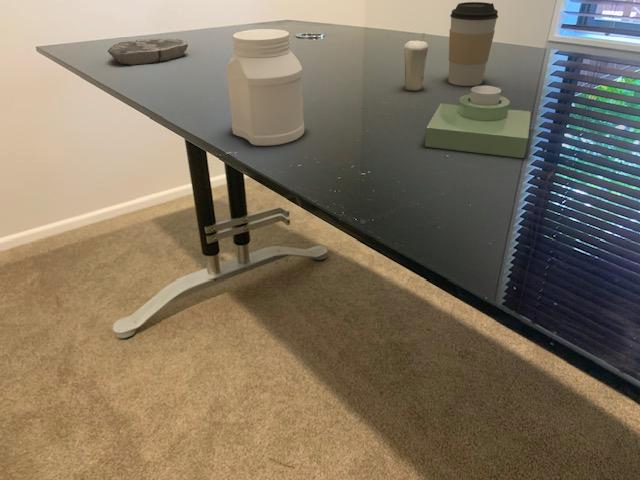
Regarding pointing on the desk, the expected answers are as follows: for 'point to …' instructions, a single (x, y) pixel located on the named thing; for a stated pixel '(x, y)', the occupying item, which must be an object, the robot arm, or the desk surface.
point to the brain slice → (148, 50)
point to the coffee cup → (470, 42)
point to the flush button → (485, 95)
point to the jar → (265, 88)
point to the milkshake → (415, 63)
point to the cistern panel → (479, 128)
